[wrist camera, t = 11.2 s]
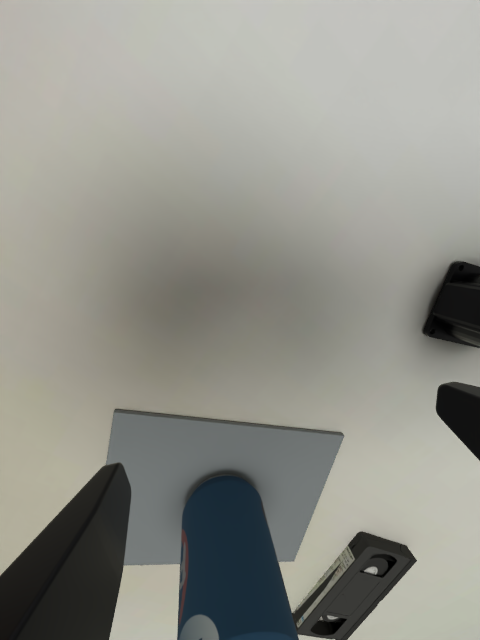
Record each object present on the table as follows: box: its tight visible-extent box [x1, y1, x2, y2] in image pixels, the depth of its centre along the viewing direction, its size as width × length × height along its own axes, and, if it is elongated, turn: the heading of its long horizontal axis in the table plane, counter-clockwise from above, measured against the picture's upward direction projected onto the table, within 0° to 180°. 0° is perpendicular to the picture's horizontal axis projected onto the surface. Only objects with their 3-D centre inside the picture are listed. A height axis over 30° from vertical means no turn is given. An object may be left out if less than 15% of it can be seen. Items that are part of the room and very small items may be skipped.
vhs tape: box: [292, 532, 417, 640], centre depth 31 cm, size 14×8×2 cm, turn 149°
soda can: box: [177, 474, 299, 640], centre depth 18 cm, size 7×7×12 cm
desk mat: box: [106, 409, 344, 565], centre depth 24 cm, size 20×16×1 cm
